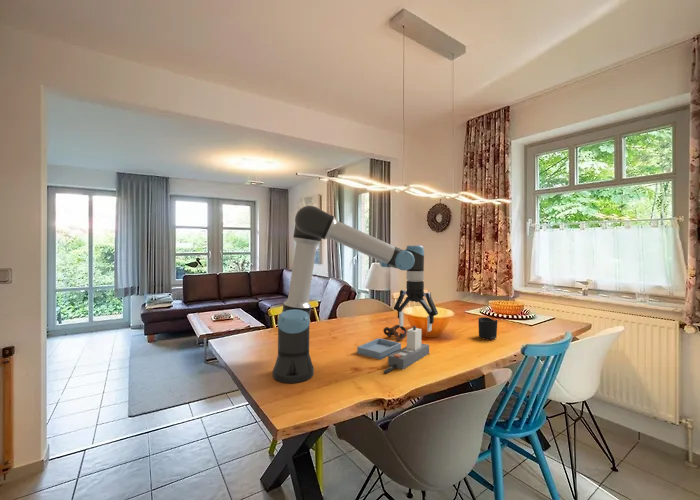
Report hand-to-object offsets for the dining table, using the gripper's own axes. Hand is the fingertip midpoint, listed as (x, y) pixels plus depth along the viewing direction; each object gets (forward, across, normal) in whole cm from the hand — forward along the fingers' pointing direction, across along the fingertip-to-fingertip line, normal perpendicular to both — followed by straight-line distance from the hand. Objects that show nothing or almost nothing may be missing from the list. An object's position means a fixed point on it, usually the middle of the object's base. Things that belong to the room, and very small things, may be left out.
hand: (415, 328), depth 140 cm
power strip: (+12, 0, +8) cm, 15 cm away
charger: (+11, 0, 0) cm, 11 cm away
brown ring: (+13, +21, -18) cm, 30 cm away
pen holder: (+14, -17, -52) cm, 56 cm away
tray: (+12, +16, +4) cm, 21 cm away
